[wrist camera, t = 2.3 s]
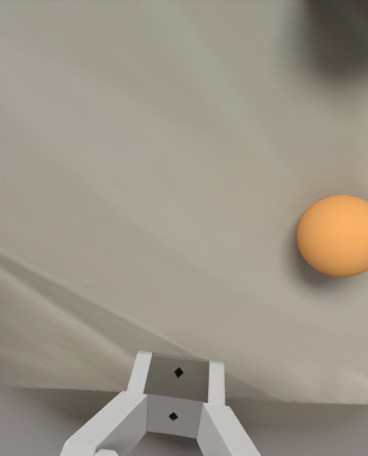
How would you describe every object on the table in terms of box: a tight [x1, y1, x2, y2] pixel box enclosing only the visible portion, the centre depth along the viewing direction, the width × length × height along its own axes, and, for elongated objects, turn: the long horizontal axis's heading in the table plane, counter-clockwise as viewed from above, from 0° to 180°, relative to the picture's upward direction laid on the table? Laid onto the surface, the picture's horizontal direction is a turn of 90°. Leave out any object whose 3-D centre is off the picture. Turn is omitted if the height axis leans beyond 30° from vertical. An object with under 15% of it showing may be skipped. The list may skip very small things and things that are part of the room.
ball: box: [297, 195, 368, 277], centre depth 22 cm, size 5×5×5 cm
